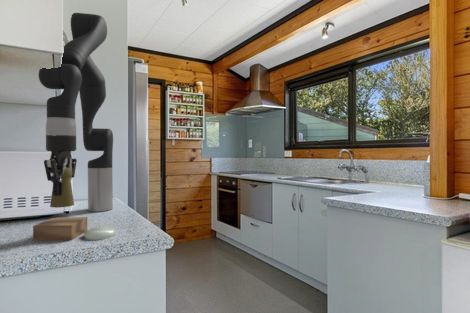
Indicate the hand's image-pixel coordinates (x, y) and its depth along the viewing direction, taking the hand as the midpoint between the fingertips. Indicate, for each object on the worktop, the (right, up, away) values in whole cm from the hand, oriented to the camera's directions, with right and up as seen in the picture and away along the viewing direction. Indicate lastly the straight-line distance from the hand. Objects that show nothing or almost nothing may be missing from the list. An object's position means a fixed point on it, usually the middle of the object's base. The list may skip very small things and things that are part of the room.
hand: (61, 194), depth 86 cm
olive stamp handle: (0, -3, 0) cm, 3 cm away
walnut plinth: (0, -12, 0) cm, 12 cm away
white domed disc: (+11, -12, 0) cm, 16 cm away
